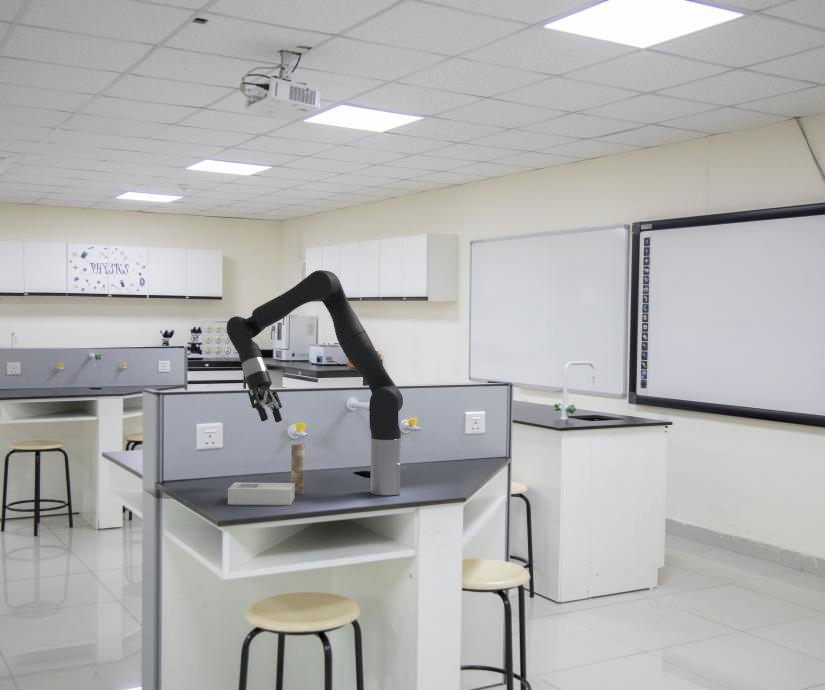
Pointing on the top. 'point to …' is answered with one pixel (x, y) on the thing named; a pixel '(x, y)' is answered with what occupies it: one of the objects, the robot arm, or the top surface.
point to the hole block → (261, 493)
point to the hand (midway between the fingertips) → (272, 421)
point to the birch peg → (297, 467)
